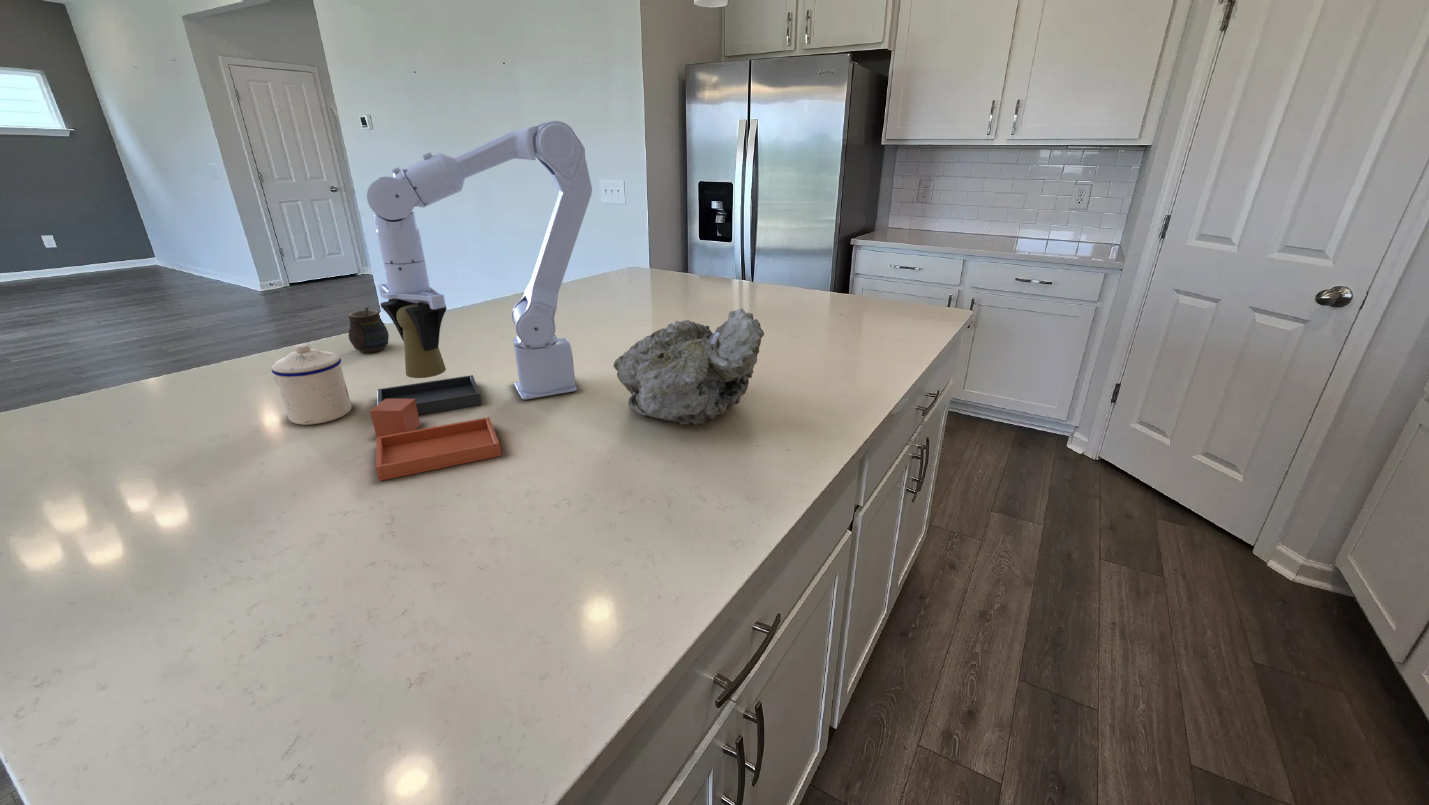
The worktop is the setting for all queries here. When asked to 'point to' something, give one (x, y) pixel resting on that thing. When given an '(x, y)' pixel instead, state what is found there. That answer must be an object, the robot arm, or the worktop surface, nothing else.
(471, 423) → the terracotta tray
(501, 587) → the worktop surface
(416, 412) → the terracotta block
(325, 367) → the lidded enamel canister
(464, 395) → the charcoal tray
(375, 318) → the mate gourd
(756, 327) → the rock
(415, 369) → the cork
